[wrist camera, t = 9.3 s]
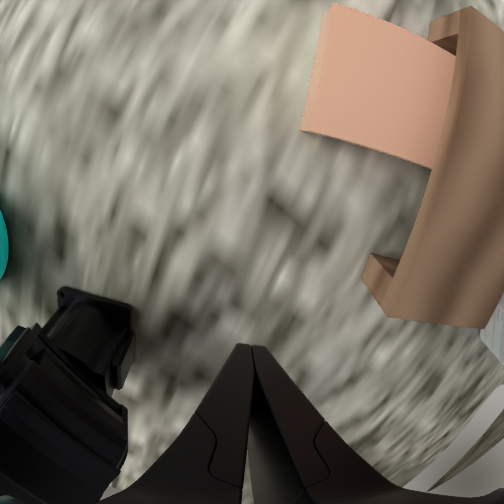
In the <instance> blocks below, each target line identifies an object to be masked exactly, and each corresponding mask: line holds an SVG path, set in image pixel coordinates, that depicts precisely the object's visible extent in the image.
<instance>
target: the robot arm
mask: <svg viewBox="0 0 504 504" xmlns="http://www.w3.org/2000/svg"><path fill="white" fill-rule="evenodd" d="M62 292H63V293H64V295H63V294H62ZM57 298H58V309H57V311H56V312H55V313H54V314H53V315H52V317H51V318H50V319H49V320H48V322H47V323H46V324H45V325H44V327H43V328H41V327H40V326H39V324H38V323H35V324H34V325H33V326H32V327H31V328H29V327H28V328H24V327H21V326H19V325H18V326H17V327H16V328H15V329H14V330H13V331H12V333H11V334H10V335H9V336H8V337H7V339H6V340H5V341H4V342H3V343H2V345H1V346H0V504H241V502H242V489H243V482H244V473H245V464H246V455H247V449H248V458H249V467H250V475H251V484H252V492H253V500H254V504H504V488H499V489H497V490H495V491H493V492H491V493H490V494H487V495H485V496H481V497H472V498H468V497H467V498H466V497H455V496H446V495H439V494H431V493H425V492H420V491H414V490H409V489H405V488H402V487H399V486H397V485H395V484H393V483H392V482H390V481H389V480H387V479H386V478H385V477H384V476H382V475H381V474H380V473H379V472H378V471H377V470H375V469H374V468H373V467H372V466H371V465H370V464H369V463H367V462H366V461H365V460H364V459H363V458H362V457H361V456H359V455H358V454H357V453H356V452H355V451H354V450H353V449H352V448H351V447H350V446H349V445H348V444H347V443H346V442H345V441H344V440H343V439H342V438H341V437H340V436H339V435H338V434H337V433H336V432H335V431H334V429H333V428H332V427H331V426H330V425H329V424H328V422H327V421H325V419H324V418H323V417H322V416H321V414H320V413H319V412H318V411H317V410H316V408H315V407H314V406H313V405H312V404H311V402H310V401H309V400H308V399H307V398H306V396H305V395H304V394H303V393H302V391H301V390H300V389H299V388H298V387H297V385H296V384H295V383H294V382H293V380H292V379H291V378H290V377H289V376H288V374H287V373H286V372H285V371H284V369H283V368H282V367H281V366H280V364H279V363H278V362H277V361H276V359H275V358H274V357H273V356H272V354H271V353H270V352H269V350H268V349H267V348H266V347H265V346H260V345H252V346H250V345H249V344H242V343H237V344H236V346H235V347H234V349H233V351H232V352H231V354H230V356H229V357H228V359H227V361H226V362H225V364H224V366H223V367H222V369H221V370H220V372H219V374H218V375H217V377H216V379H215V380H214V382H213V384H212V385H211V387H210V389H209V390H208V392H207V393H206V395H205V397H204V398H203V400H202V401H201V403H200V405H199V406H198V408H197V409H196V411H195V413H194V414H193V416H192V417H191V419H190V420H189V422H188V423H187V425H186V426H185V428H184V429H183V430H182V432H181V433H180V435H179V436H178V437H177V438H176V440H175V441H174V442H173V443H172V444H171V445H170V447H169V448H168V449H167V450H166V451H165V452H164V453H163V454H162V455H161V456H160V457H159V458H158V459H157V461H156V462H155V463H154V464H153V465H152V466H151V467H150V468H149V469H148V470H147V471H146V472H145V473H144V474H143V475H142V476H141V477H140V478H139V479H138V480H137V481H136V482H134V483H133V484H132V485H131V486H129V487H128V488H126V489H125V490H123V491H121V492H119V493H117V494H114V495H112V496H110V497H107V498H105V499H103V500H101V501H99V500H100V498H101V497H102V495H103V493H104V491H105V490H106V489H107V487H108V486H109V484H110V483H111V482H112V481H113V480H114V479H115V478H116V477H117V476H118V475H119V474H120V472H121V471H120V469H121V467H122V466H123V464H124V462H125V460H126V457H127V453H128V409H127V408H126V407H124V406H123V405H122V404H119V403H118V402H116V401H115V400H114V399H113V398H112V397H111V396H112V394H113V391H114V389H117V390H120V389H122V388H123V385H124V382H125V380H126V377H127V374H128V372H129V369H130V367H131V364H132V362H133V359H134V357H135V332H134V331H133V330H132V308H131V307H130V306H129V305H127V304H124V303H120V302H116V301H112V300H108V299H105V298H101V297H97V296H94V295H90V294H86V293H83V292H79V291H76V290H72V289H69V288H65V287H61V288H60V289H59V290H58V291H57ZM124 310H126V311H127V312H124Z"/></svg>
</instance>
